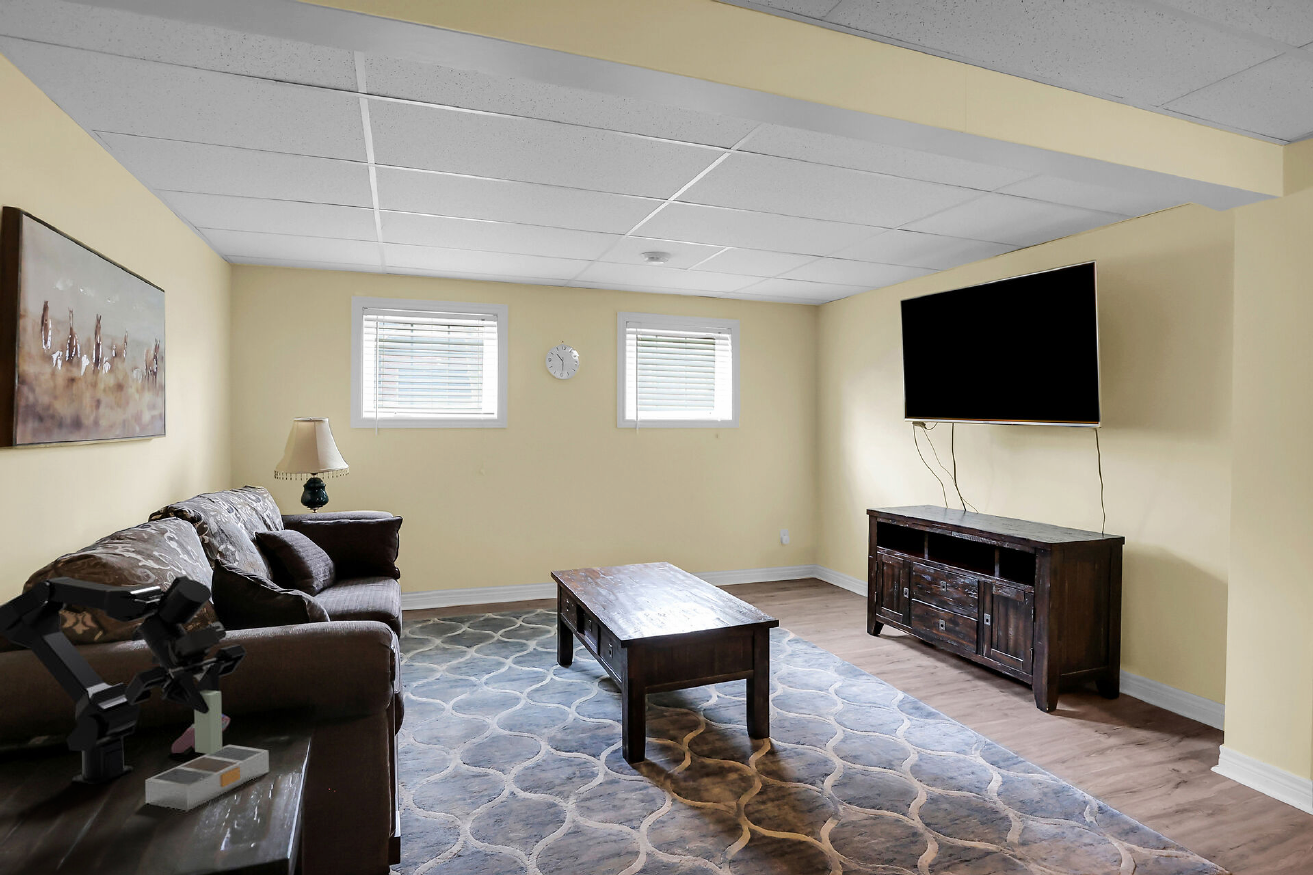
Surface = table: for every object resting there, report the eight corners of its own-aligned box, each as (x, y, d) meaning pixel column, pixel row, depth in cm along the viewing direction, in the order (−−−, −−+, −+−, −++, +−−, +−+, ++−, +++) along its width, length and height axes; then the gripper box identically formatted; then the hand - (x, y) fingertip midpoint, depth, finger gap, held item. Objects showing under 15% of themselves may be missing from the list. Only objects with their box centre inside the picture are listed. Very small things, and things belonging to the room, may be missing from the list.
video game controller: (185, 763, 136) (198, 731, 136) (167, 752, 137) (180, 720, 137) (225, 743, 146) (237, 713, 146) (208, 732, 147) (220, 702, 146)
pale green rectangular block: (195, 751, 122) (194, 693, 122) (206, 746, 124) (205, 689, 124) (211, 754, 120) (210, 695, 121) (222, 749, 122) (221, 691, 123)
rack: (145, 802, 117) (145, 779, 117) (229, 765, 131) (229, 744, 131) (188, 811, 113) (188, 787, 113) (270, 771, 127) (269, 750, 127)
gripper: (134, 623, 116) (181, 696, 111) (238, 600, 133) (283, 663, 129) (104, 668, 118) (149, 741, 114) (210, 640, 136) (253, 703, 131)
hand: (213, 709), depth 122 cm, fingers closed on pale green rectangular block, 2 cm apart
